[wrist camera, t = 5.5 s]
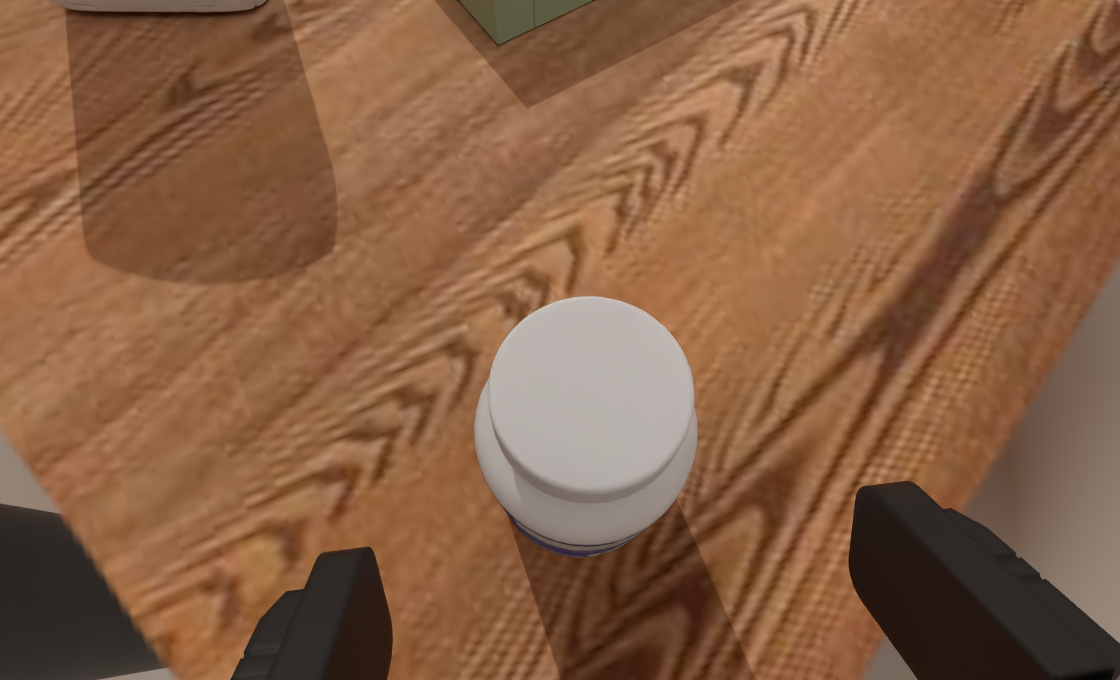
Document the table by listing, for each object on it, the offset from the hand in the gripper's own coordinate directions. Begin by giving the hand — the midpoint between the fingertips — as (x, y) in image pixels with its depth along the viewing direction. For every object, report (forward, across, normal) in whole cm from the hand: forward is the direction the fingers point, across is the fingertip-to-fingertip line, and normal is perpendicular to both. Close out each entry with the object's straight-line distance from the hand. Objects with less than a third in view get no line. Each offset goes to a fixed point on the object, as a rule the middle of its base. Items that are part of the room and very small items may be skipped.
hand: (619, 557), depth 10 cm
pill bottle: (+9, 0, +4) cm, 10 cm away
